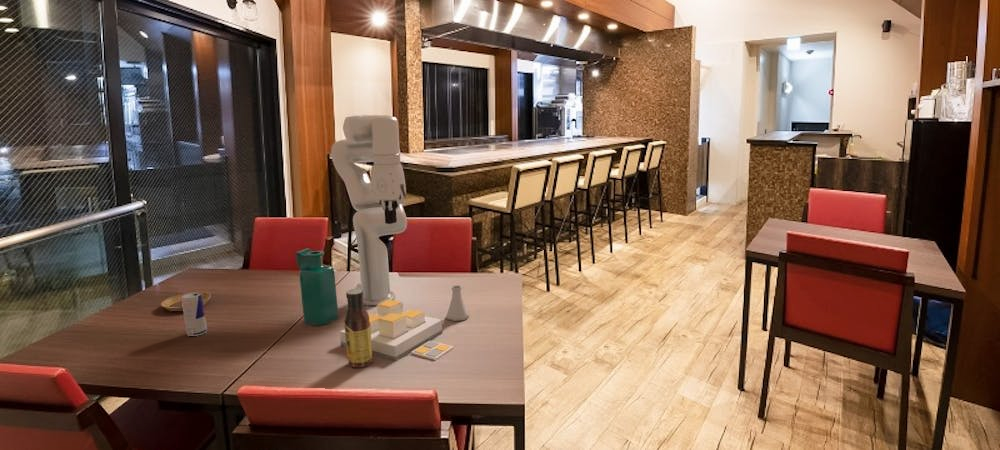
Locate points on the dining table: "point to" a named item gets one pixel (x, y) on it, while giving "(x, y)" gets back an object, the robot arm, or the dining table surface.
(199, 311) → the energy drink
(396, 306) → the button
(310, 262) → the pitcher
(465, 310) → the flask
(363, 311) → the sauce bottle
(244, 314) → the dining table surface
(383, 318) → the button
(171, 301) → the plant saucer
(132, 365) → the dining table surface
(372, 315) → the button
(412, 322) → the button
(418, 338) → the button board
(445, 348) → the card
